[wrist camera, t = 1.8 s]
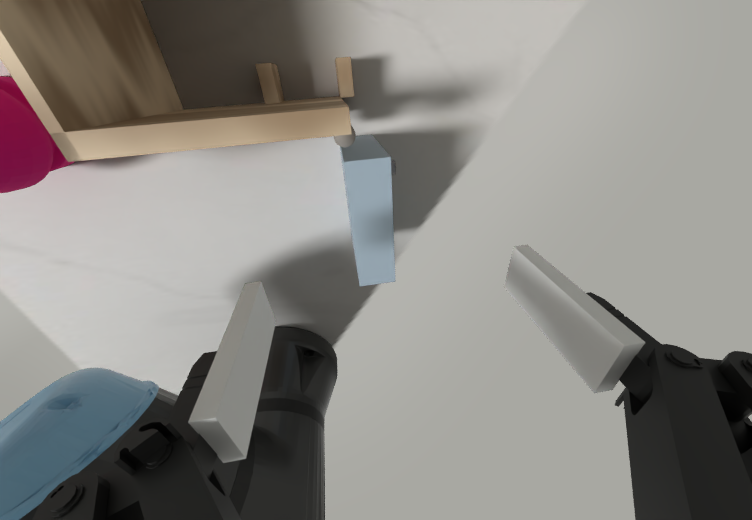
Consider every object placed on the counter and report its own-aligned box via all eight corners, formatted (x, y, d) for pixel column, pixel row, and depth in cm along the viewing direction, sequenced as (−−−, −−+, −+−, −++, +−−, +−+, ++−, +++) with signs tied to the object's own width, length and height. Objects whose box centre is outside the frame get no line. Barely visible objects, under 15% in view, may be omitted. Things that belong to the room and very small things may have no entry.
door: (385, 231, 31) (404, 279, 23) (351, 236, 30) (359, 286, 23) (380, 133, 25) (403, 155, 18) (338, 137, 25) (343, 161, 17)
